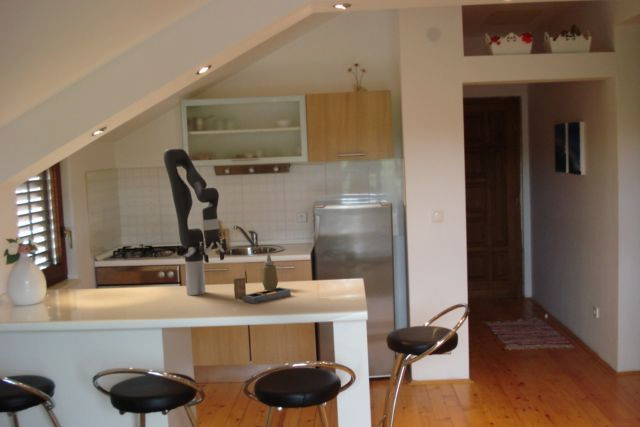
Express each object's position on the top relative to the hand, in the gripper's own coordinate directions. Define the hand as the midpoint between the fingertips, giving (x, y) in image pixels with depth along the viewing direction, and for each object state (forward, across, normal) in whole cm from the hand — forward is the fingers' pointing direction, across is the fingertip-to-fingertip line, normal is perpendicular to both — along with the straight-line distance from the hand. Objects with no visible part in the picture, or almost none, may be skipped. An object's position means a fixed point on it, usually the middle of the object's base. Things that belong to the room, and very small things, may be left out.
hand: (214, 261), depth 346 cm
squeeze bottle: (+19, -28, +5) cm, 34 cm away
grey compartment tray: (+20, -14, +21) cm, 32 cm away
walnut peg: (+19, -6, +10) cm, 22 cm away
